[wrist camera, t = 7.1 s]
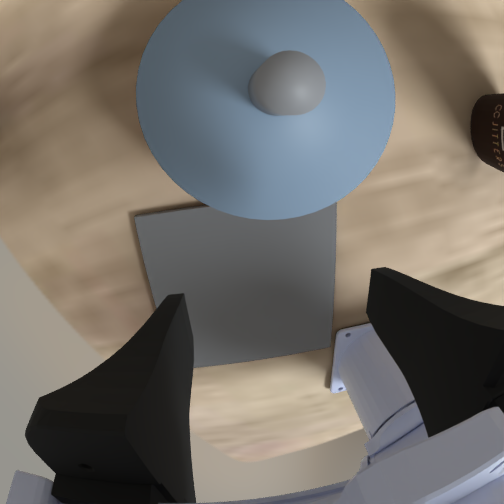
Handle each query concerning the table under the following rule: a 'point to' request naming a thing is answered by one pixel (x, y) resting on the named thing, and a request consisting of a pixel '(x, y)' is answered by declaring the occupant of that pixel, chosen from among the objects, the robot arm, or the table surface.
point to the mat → (244, 279)
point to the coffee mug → (489, 130)
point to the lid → (265, 103)
